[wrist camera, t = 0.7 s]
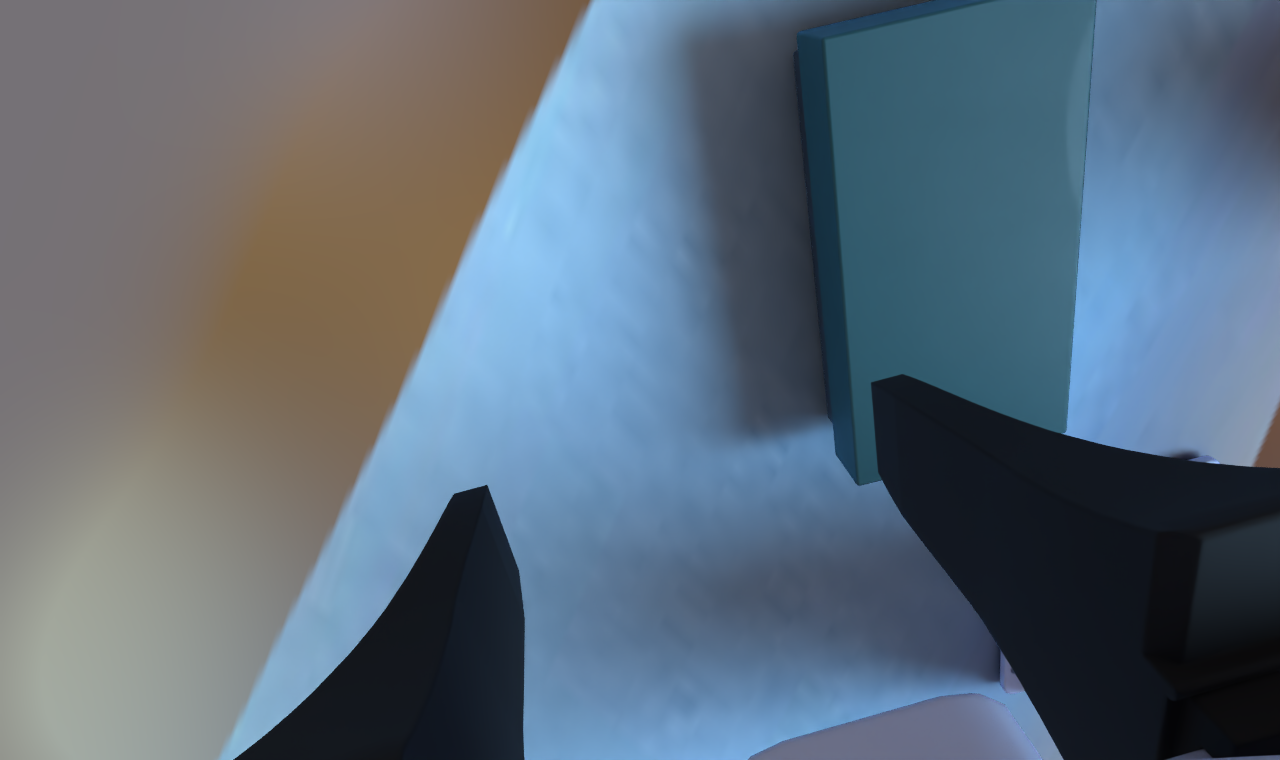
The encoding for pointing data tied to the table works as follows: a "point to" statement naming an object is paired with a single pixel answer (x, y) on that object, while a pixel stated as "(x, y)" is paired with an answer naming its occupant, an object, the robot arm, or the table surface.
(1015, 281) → the teal flat panel
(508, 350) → the table surface
